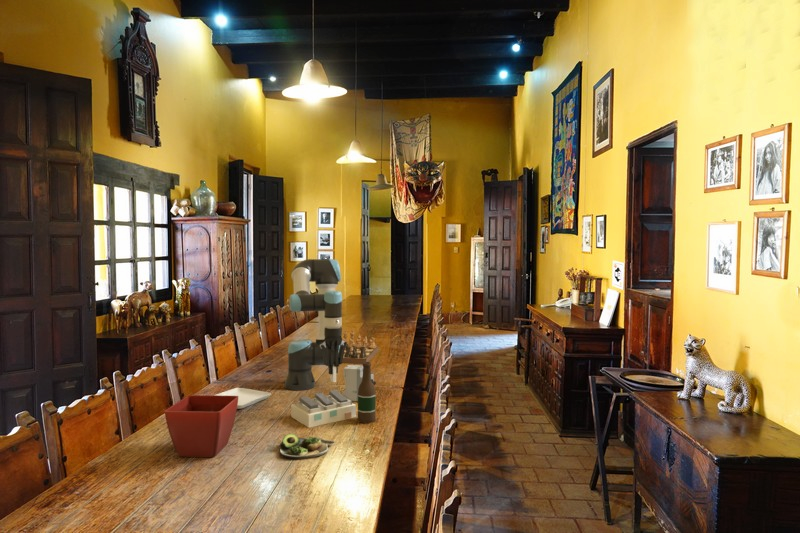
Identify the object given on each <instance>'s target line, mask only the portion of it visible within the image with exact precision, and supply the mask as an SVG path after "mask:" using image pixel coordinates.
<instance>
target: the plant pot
mask: <svg viewBox="0 0 800 533" xmlns="http://www.w3.org/2000/svg"><path fill="white" fill-rule="evenodd" d="M237 405H238V396H218V395H216V394H214V395H211V394H210V395H208V394H207V395H202V394H201V395H195V394H194V395H191V394H190V395H187V396H185V397H184V398H182V399H181V400H179V401H178V402H176V403H175V404H173V405H172V406H169V407H168V408H167V409H165V410H164V417H165V421H166V425H167V428H168V433H169V436H170V439H171V442H172V444H173V446H174V449H175V451H176V453H177V455H178V457H181V458H182V457H193V458H196V457H197V458H214V457H216V456H218V454H219V453H220V452H221V451H222V450H223V449H224V448H225V447H226V446H227V444H228V443H229V441H230V437H231V434H232V431H233V428H234V423H235V420H236V415H237V410H238V409H237Z"/></svg>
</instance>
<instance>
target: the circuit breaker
mask: <svg viewBox="0 0 800 533" xmlns="http://www.w3.org/2000/svg"><path fill="white" fill-rule="evenodd" d="M342 377H343V378H344V389H343V390H342V391H343V392H342V395H343V396H344V397H345V398H346V399H348V400H351V401H352V402H358V388H359V386H360V384H361V382H362V378H363V364H347V365H346V366H344V368H343V372H342ZM371 381H372V383H373V384H374V386H375V385H376V384H377V381H375V379H374V373H371Z"/></svg>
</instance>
